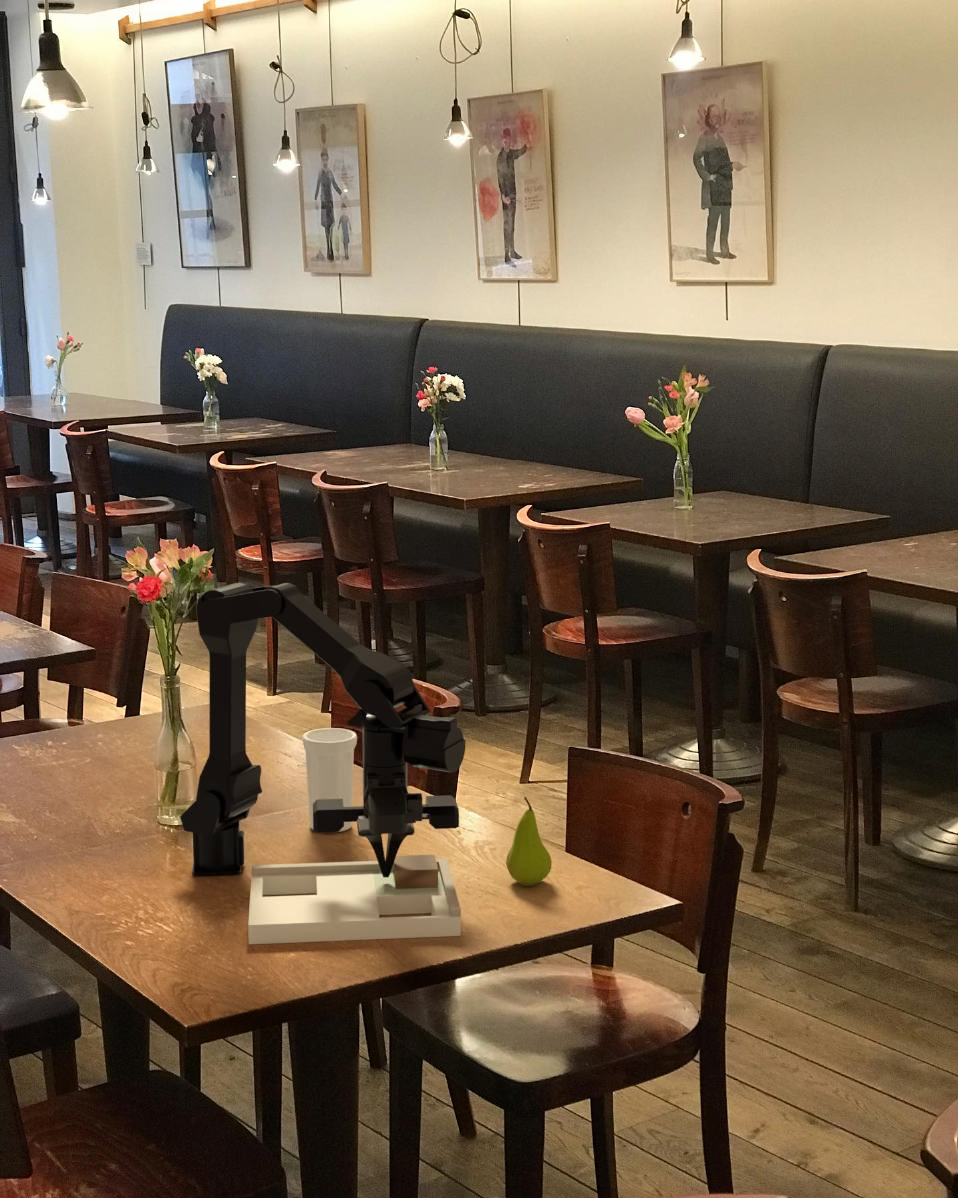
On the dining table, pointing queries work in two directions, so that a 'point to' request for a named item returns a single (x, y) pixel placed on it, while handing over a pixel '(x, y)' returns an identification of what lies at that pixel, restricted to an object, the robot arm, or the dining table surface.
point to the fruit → (528, 852)
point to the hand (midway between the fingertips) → (385, 876)
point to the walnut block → (415, 872)
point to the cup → (329, 766)
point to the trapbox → (346, 904)
